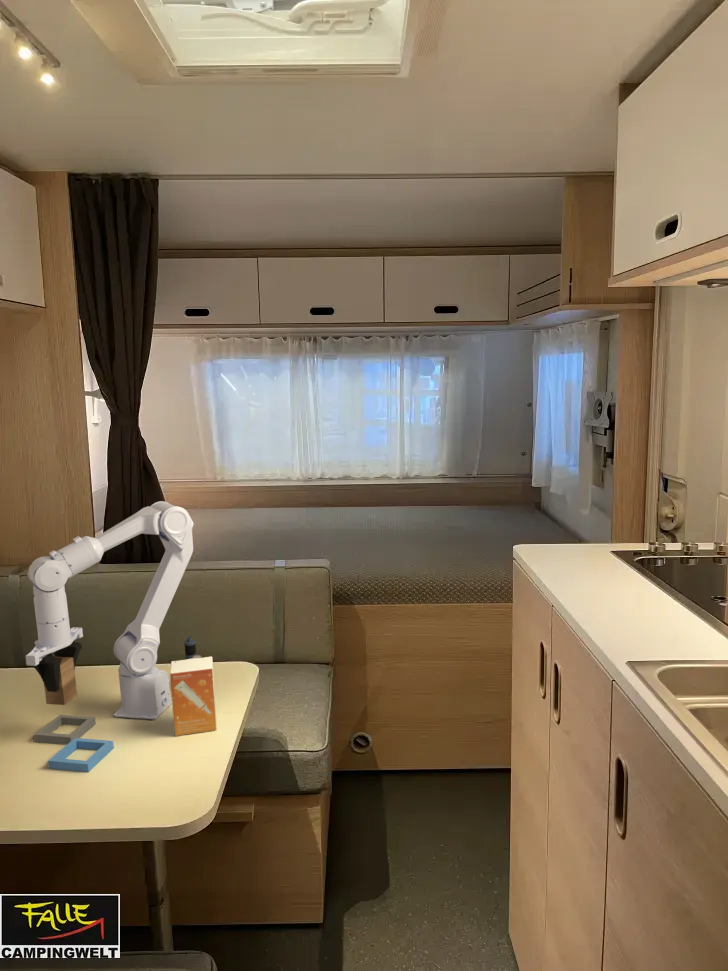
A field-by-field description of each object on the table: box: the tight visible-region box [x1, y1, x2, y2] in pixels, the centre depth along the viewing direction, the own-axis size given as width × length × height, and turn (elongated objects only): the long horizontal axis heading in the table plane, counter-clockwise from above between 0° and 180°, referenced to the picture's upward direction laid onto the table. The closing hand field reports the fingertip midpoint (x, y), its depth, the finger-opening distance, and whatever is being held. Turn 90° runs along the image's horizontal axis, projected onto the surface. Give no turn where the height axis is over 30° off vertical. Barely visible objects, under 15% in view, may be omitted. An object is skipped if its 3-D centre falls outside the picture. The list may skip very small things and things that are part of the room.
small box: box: [169, 656, 218, 737], centre depth 137 cm, size 8×6×13 cm
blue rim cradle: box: [47, 737, 115, 773], centre depth 128 cm, size 8×8×2 cm
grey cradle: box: [33, 714, 96, 745], centre depth 137 cm, size 8×8×2 cm
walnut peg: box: [43, 656, 78, 706], centre depth 136 cm, size 4×4×8 cm
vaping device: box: [184, 636, 203, 660], centre depth 153 cm, size 3×5×12 cm, turn 45°
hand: (60, 685), depth 136 cm, fingers closed on walnut peg, 4 cm apart
